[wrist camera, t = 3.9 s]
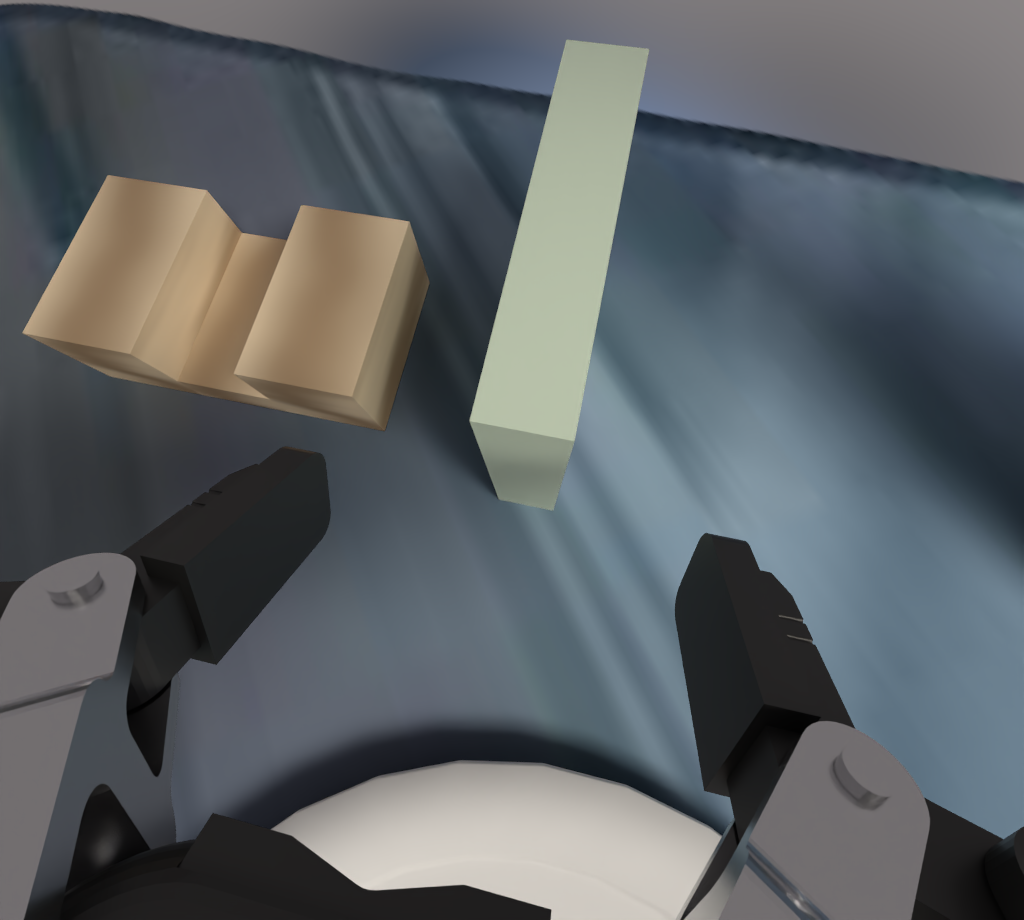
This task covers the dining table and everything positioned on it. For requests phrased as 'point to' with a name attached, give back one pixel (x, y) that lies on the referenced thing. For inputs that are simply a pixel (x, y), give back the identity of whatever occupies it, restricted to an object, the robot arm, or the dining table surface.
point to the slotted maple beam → (238, 302)
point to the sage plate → (557, 275)
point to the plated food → (513, 838)
